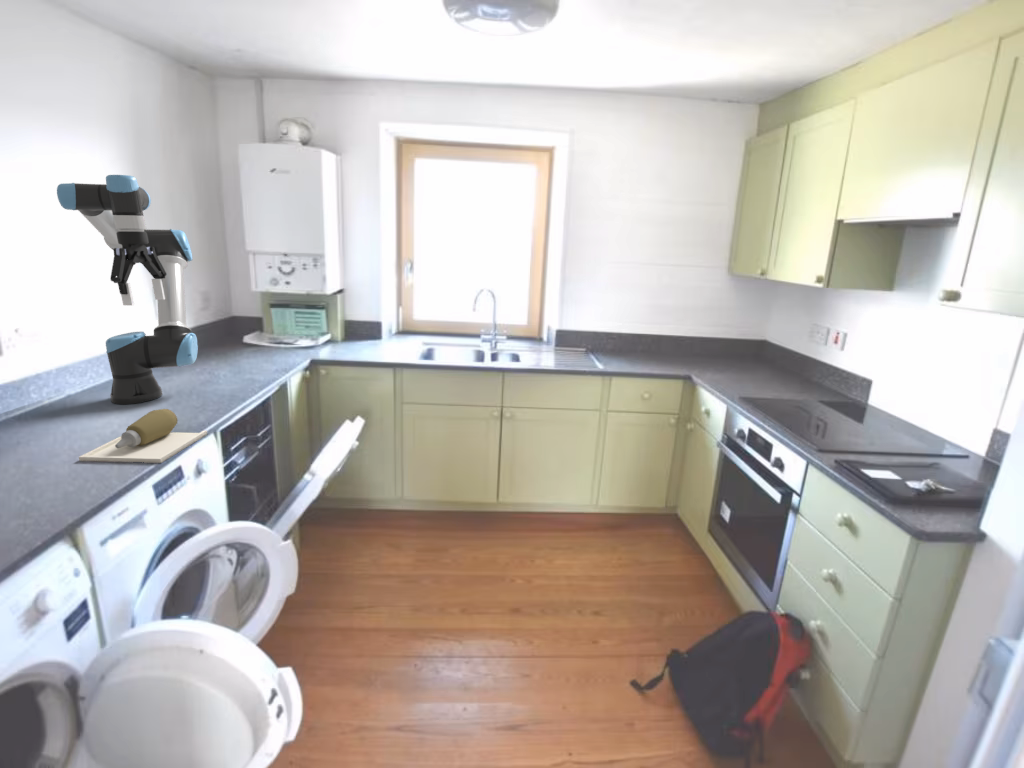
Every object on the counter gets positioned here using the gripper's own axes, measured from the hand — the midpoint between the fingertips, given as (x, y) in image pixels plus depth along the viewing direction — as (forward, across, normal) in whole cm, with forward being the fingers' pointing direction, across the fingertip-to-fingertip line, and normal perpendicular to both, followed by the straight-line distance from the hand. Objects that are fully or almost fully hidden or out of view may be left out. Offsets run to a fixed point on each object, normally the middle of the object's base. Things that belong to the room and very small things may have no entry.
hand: (145, 302), depth 161 cm
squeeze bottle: (+32, +15, +12) cm, 38 cm away
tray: (+37, +26, +13) cm, 47 cm away
